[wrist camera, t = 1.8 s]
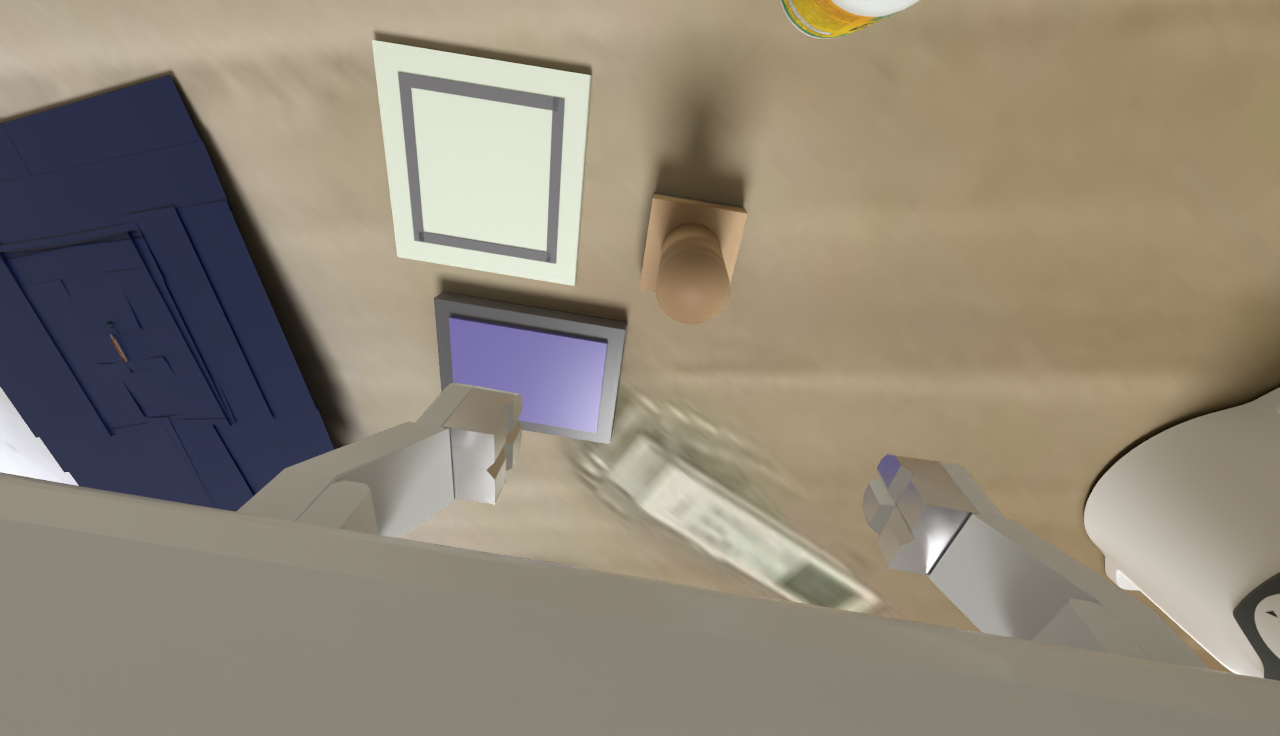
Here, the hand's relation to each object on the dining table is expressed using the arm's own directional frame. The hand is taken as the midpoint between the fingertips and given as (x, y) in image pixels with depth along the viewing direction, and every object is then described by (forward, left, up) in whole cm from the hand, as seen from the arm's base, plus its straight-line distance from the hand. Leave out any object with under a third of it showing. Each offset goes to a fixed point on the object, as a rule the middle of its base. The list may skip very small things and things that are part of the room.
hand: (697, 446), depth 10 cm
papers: (+36, +13, -19) cm, 43 cm away
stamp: (0, 0, -19) cm, 19 cm away
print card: (+12, -2, -19) cm, 22 cm away
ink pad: (+9, +10, -19) cm, 23 cm away
